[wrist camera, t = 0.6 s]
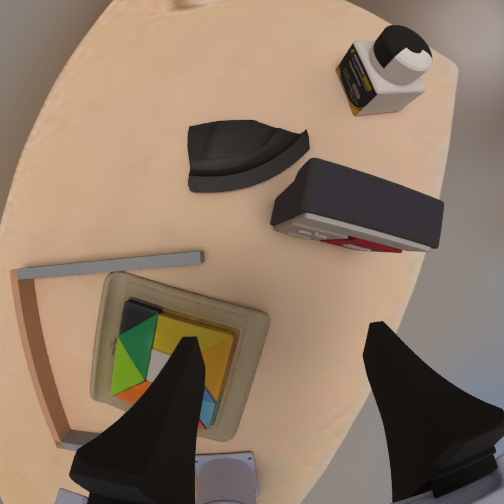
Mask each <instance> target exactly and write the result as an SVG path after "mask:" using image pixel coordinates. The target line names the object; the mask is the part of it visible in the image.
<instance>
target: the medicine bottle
mask: <svg viewBox="0 0 504 504" xmlns="http://www.w3.org/2000/svg"><path fill="white" fill-rule="evenodd" d="M431 66H432V54H431V51H430V49H429V47H428V45H427V44H426V42H425V41H424V40H423V39H422V38H421V37H420V36H419V35H418V34H417V33H415V32H414V31H412V30H411V29H409V28H407V27H404V26H400V25H391V26H388V27H386V28H385V29H384V30H383V32H382V33H381V34H380V36H379V37H378V38H377V40H376V41H355V42H353V44H352V45H351V47H350V49H349V50H348V52H347V53H346V55H345V56H344V58H343V59H342V61H341V63H340V64H339V66H338V67H337V69H336V71H337V74H338V76H339V78H340V81H341V83H342V85H343V88H344V90H345V93H346V95H347V98H348V100H349V103H350V105H351V108H352V111H353V113H354V115H355V116H360V115H368V114H377V113H387V112H398V111H400V110H401V109H402V108H404V107H405V106H406V105H408V104H409V103H410V102H412V101H413V100H414V99H416V98H417V97H418V96H420V95H421V94H422V93H424V92H425V89H424V86H423V84H422V82H421V80H420V78H419V77H420V76H421V75H422V74H424V73H425V72H426V71H427V70H428V69H429V68H430V67H431Z"/></svg>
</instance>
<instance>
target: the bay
mask: <svg viewBox="0 0 504 504" xmlns="http://www.w3.org/2000/svg"><path fill="white" fill-rule="evenodd" d="M203 262H204V256H203V251H194V252H184V253H173V254H163V255H152V256H142V257H131V258H121V259H111V260H100V261H90V262H80V263H70V264H60V265H50V266H40V267H30V268H22V269H14V270H10V275H11V284H12V291H13V298H14V305H15V310H16V316H17V321H18V327H19V331H20V336H21V341H22V345H23V349H24V353H25V357H26V361H27V365H28V368H29V372H30V375H31V379H32V382H33V385H34V388H35V392H36V395H37V398H38V401H39V403H40V406H41V409H42V412H43V415H44V417H45V420H46V422H47V425H48V428H49V430H50V432H51V435H52V437H53V440H54V442H55V444H56V447H57V448H62V449H67V450H72V451H77V449H78V448H80V447H82V446H83V445H85V444H86V443H88V442H89V441H91V440H93V439H94V438H96V437H97V436H99V435H100V434H99V433H90V432H82V431H75V430H70V427H69V424H68V422H67V419H66V416H65V413H64V410H63V407H62V404H61V401H60V398H59V395H58V392H57V389H56V385H55V382H54V379H53V375H52V371H51V368H50V364H49V360H48V356H47V352H46V348H45V343H44V339H43V334H42V329H41V324H40V319H39V313H38V307H37V301H36V295H35V287H34V280H33V278H44V277H56V276H68V275H81V274H92V273H104V272H116V271H128V270H139V269H151V268H162V267H173V266H184V265H195V264H202V263H203Z"/></svg>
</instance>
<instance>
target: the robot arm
mask: <svg viewBox="0 0 504 504" xmlns="http://www.w3.org/2000/svg"><path fill="white" fill-rule="evenodd" d="M363 360H364V364H365V369H366V373H367V377H368V380H369V383H370V386H371V389H372V391H373V394H374V397H375V400H376V403H377V406H378V409H379V411H380V414H381V418H382V421H383V425H384V430H385V435H386V440H387V446H388V453H389V459H390V468H391V479H392V502H393V503H391V504H504V454H502V455H500V456H499V457H497V458H496V459H495V458H494V455H493V454H494V453H496V449H495V447H494V445H495V444H496V443H497V442H498V441H499V440H500V439H501V438H502V437H503V436H504V411H503V409H501V408H499V407H496V406H494V405H491V404H489V403H486V402H483V401H482V400H480V399H478V398H476V397H474V396H472V395H470V394H468V393H466V392H464V391H463V390H461V389H459V388H458V387H456V386H455V385H453V384H452V383H450V382H449V381H447V380H446V379H444V378H443V377H442V376H441V375H439V374H438V373H437V372H435V371H434V370H433V369H432V368H430V367H429V366H428V365H427V364H426V363H425V362H423V361H422V360H421V359H420V358H419V357H418V356H417V355H416V354H415V353H414V352H413V351H412V350H411V349H410V348H409V347H408V346H407V345H406V344H405V343H404V342H403V341H402V340H401V339H400V338H399V337H398V336H397V335H396V334H395V333H394V332H393V331H392V330H391V329H390V328H389V327H388V326H387V325H386V324H385V323H384V322H383V321H380V322H373V323H370V325H369V329H368V334H367V339H366V343H365V347H364V352H363ZM205 374H206V367H205V363H204V360H203V356H202V353H201V349H200V346H199V342H198V338H197V336H193V337H182V338H181V339H180V341H179V343H178V344H177V346H176V348H175V349H174V351H173V353H172V354H171V356H170V357H169V359H168V361H167V362H166V364H165V365H164V367H163V368H162V370H161V371H160V373H159V374H158V375H157V377H156V378H155V379H154V381H153V382H152V383H151V385H150V386H149V387H148V389H147V390H146V391H145V392H144V394H143V395H142V396H141V397H140V398H139V399H138V400H137V402H136V403H135V404H134V405H133V406H132V407H131V408H130V409H129V410H128V411H127V412H126V413H125V414H124V415H123V416H122V417H121V418H120V419H118V420H117V421H116V422H115V423H114V424H113V425H111V426H110V427H109V428H108V429H106V430H105V431H104V432H103V433H101V434H100V435H99V436H97V437H96V438H94V439H93V440H91V441H89V442H88V443H86V444H85V445H83V446H82V447H80V448H78V449H77V452H76V454H75V456H74V460H73V463H72V466H71V470H70V473H69V476H70V478H71V479H72V480H73V481H74V482H75V483H77V484H78V485H80V486H81V487H83V488H84V489H86V490H87V491H89V492H90V494H89V498H88V497H86V496H83V495H81V494H78V493H75V492H72V491H69V490H66V489H63V488H59V491H58V495H57V498H56V502H55V504H195V471H196V475H197V479H198V491H197V501H196V504H256V497H257V496H258V495H259V494H258V487H257V479H256V472H255V464H254V456H253V453H252V452H242V453H230V454H213V455H195V453H196V438H197V430H198V425H199V419H200V413H201V408H202V402H203V396H204V390H205ZM249 457H251V458H249Z"/></svg>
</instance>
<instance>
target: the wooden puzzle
mask: <svg viewBox="0 0 504 504" xmlns="http://www.w3.org/2000/svg"><path fill="white" fill-rule="evenodd" d="M269 325H270V317H269V316H268V314H266V313H264V312H261V311H256V310H252V309H249V308H245V307H241V306H237V305H234V304H230V303H226V302H223V301H219V300H216V299H212V298H209V297H205V296H202V295H198V294H195V293H191V292H188V291H184V290H181V289H178V288H174V287H171V286H168V285H165V284H162V283H158V282H155V281H152V280H149V279H146V278H143V277H139V276H136V275H133V274H130V273H126V272H122V271H116V272H112V273H110V274H109V275H108V276H107V277H106V279H105V282H104V286H103V291H102V296H101V302H100V308H99V314H98V320H97V327H96V334H95V342H94V350H93V360H92V370H91V383H90V396H91V397H92V399H94V400H96V401H99V402H103V403H107V404H109V405H112V406H114V407H116V408H119V409H121V410H124V411H126V412H127V411H128V410H129V409H130V408H131V407H132V406H133V405H134V404H135V403H136V402H137V400H138V399H139V398H140V397H141V396H142V395H143V394H144V392H145V391H146V390H147V389H148V387H149V386H150V385H151V383H152V382H153V381H154V379H155V378H156V377H157V375H158V374H159V373H160V371H161V370H162V368H163V367H164V365H165V364H166V362H167V361H168V359H169V357H170V356H171V354H172V353H173V351H174V349H175V348H176V346H177V344H178V343H179V341H180V339H181V338H182V337H193V336H197V338H198V342H199V346H200V349H201V353H202V356H203V360H204V363H205V367H206V374H205V390H204V396H203V402H202V408H201V413H200V419H199V425H198V430H197V436H201V437H204V438H208V439H212V440H216V441H228V440H230V439H232V438H233V437H234V435H235V434H236V432H237V429H238V426H239V423H240V420H241V417H242V414H243V411H244V408H245V404H246V401H247V398H248V395H249V392H250V388H251V385H252V382H253V379H254V375H255V372H256V369H257V366H258V362H259V359H260V356H261V352H262V349H263V346H264V342H265V339H266V336H267V332H268V329H269Z"/></svg>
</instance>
